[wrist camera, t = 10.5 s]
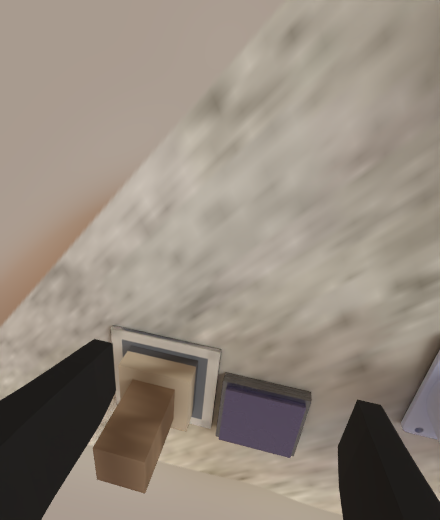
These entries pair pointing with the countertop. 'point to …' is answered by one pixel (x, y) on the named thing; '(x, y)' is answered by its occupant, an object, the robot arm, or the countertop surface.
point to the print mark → (203, 354)
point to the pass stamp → (145, 415)
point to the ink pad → (262, 414)
